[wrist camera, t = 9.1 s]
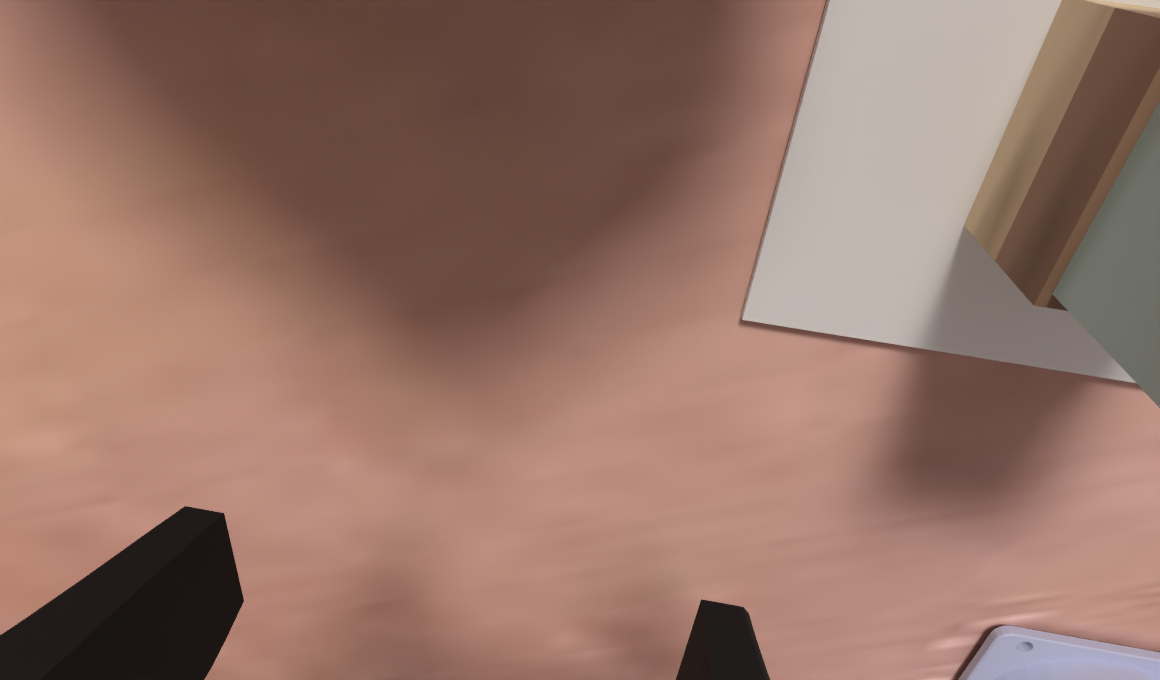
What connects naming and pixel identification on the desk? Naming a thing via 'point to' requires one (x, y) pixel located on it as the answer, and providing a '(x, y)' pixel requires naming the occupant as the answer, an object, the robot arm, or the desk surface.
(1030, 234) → the tower mid
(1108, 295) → the block
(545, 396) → the desk surface
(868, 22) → the mat
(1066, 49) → the tower base
